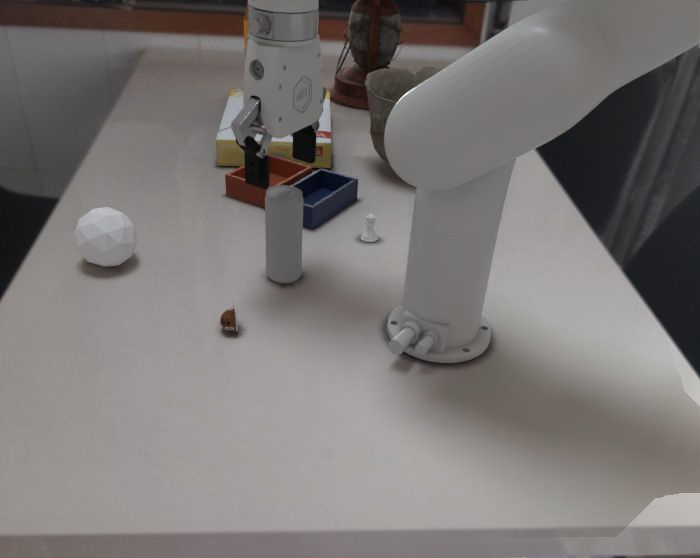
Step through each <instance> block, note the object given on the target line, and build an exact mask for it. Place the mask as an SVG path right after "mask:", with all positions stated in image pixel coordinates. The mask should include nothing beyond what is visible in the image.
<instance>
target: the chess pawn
mask: <svg viewBox="0 0 700 558" xmlns="http://www.w3.org/2000/svg"><path fill="white" fill-rule="evenodd" d="M365 219H366V221H365V224H366V230H365V231H364V232H362V234H361V236H360V240H361V241H363V242H365V243H375V242H377V241H378V239H379V237H378V235H377V233H376V231H375V230H374V225H376V222H375V221H376V216H375V214H373V213H368V214H367V215H366V216H365Z"/></svg>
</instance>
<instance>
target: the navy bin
mask: <svg viewBox="0 0 700 558" xmlns="http://www.w3.org/2000/svg"><path fill="white" fill-rule="evenodd" d="M290 186H293V187H296V188H298V189H300V190H301V191H302V196H303V228H306V229H309V230H314V229H316V228H317V227H318V226H319V227H320V225H322V224H323V223H324V222H326V221H328V220H329V219H331V218H332V217H333V216H336V214H339V212H341V211H343V210H344V209H346V208H347V207H349V206H351V205H352V204H353V203H354V202H356V201H358V192H359V178H355V177H352V176H349V175H346V174H342V173H339V172H335V171H332V170H329V169H327V168H319V169H316V170H315V171H312V173H311V174H310V175H308V176H306V177H304V178H303V179H301V180H299V181H297V182H296V183H294V184H292V185H290Z"/></svg>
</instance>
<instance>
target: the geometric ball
mask: <svg viewBox="0 0 700 558" xmlns="http://www.w3.org/2000/svg"><path fill="white" fill-rule="evenodd" d="M73 237H74V239H75V243H76V246H77V249H78V251H79V252H80V254H81V255H82V256H83V258H84V259H85V261H86V262H88V263H91V264H94V265H98V266H100V267H103V268H107V267H116V266H117V267H118V266H120V265H121V264H123V263H124V262H126V261H127V260H128V259H130V258H131V257H132V256H133V254H134V251H135V249H136V246H137V243H138V237H137V232H136V228H135V225H134V224H133V222H131V220H130V219H129V218H128V216H127V215H126V214H125V213H124V212H121V211H118V210H117V209H114V208H111V207H110V206H105V207H96V208H93V209H91V210H89V211H88V212H87V213H85V214H84V215H83V216H81V217H80V218H78V222H77V224H76V227H75V229H74V232H73Z"/></svg>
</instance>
